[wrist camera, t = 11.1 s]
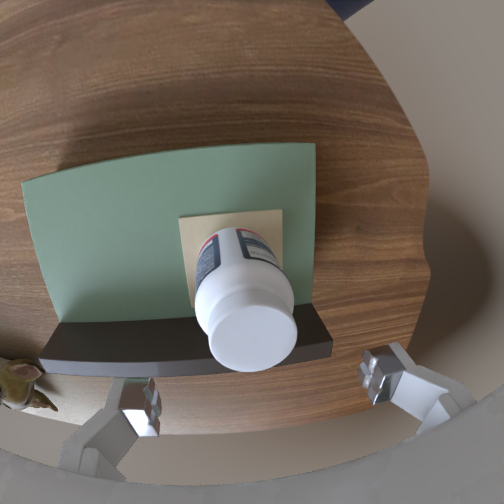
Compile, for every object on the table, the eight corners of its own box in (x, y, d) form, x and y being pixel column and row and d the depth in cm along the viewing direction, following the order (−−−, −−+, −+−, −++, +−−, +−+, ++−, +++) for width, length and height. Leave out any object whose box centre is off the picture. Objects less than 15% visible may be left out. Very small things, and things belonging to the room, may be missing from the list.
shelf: (55, 171, 21) (-19, 197, 11) (291, 142, 24) (348, 146, 13) (86, 302, 26) (46, 373, 16) (292, 284, 29) (331, 357, 19)
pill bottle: (209, 300, 21) (212, 391, 13) (187, 236, 19) (173, 309, 11) (277, 282, 21) (315, 364, 13) (263, 216, 19) (303, 276, 11)
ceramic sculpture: (-51, 361, 17) (32, 402, 21) (-25, 325, 25) (52, 354, 29) (-26, 408, 21) (51, 442, 25) (-9, 372, 28) (62, 399, 33)
